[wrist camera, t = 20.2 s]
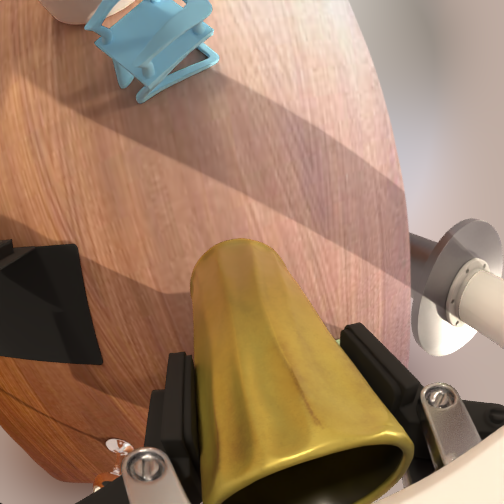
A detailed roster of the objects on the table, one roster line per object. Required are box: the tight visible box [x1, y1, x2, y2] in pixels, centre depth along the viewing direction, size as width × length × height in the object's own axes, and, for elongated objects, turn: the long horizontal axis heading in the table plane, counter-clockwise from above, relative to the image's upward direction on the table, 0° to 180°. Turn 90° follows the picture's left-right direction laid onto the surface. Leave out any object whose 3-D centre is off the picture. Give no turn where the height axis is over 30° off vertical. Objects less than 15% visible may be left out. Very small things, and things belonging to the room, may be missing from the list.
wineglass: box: [93, 439, 134, 493], centre depth 28 cm, size 6×6×12 cm
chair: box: [84, 0, 219, 104], centre depth 17 cm, size 8×8×12 cm
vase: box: [190, 238, 414, 504], centre depth 12 cm, size 6×6×14 cm
